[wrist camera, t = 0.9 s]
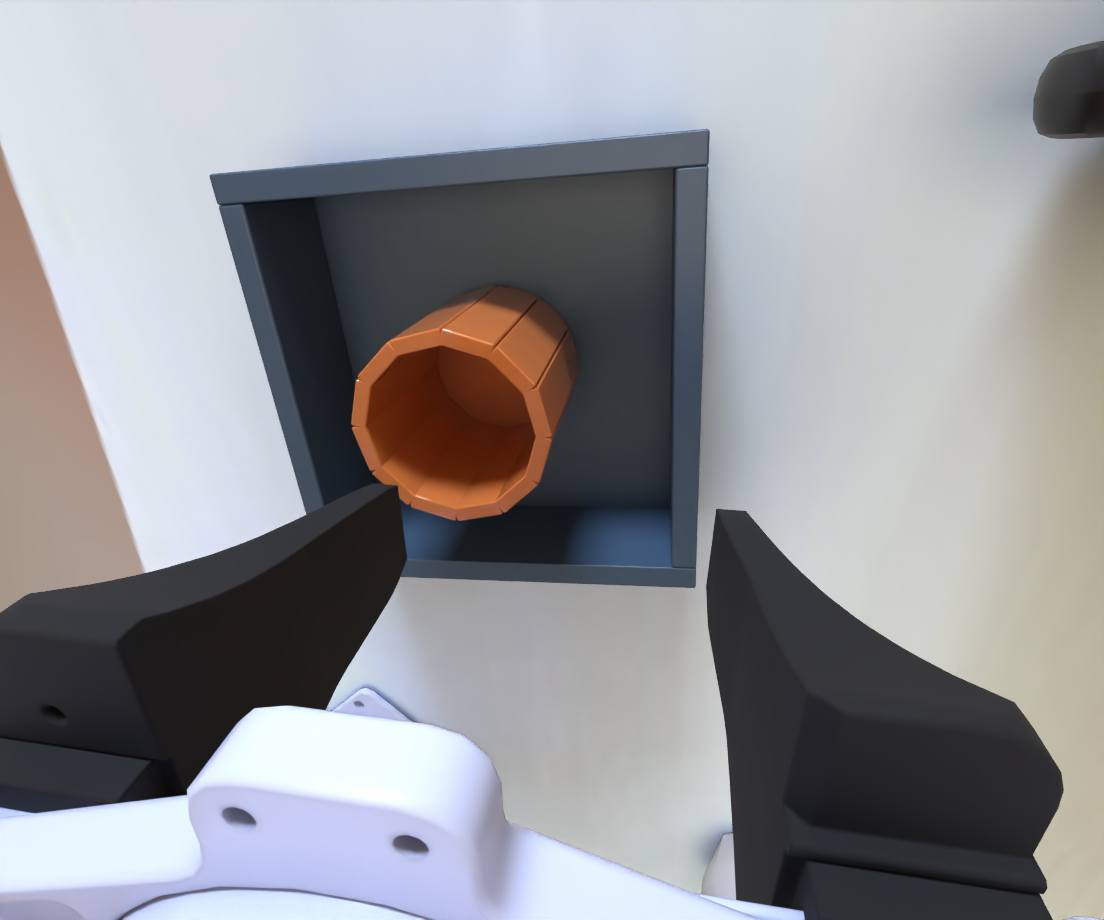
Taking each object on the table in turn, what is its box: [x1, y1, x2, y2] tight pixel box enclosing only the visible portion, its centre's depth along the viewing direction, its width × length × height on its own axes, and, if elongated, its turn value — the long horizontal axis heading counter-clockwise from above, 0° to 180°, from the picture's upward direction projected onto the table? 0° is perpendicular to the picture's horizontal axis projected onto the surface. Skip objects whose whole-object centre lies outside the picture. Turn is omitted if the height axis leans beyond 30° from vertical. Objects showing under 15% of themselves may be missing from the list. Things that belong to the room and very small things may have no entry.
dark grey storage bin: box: [210, 129, 710, 588], centre depth 21 cm, size 14×14×4 cm
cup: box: [351, 285, 579, 521], centre depth 19 cm, size 6×6×6 cm
